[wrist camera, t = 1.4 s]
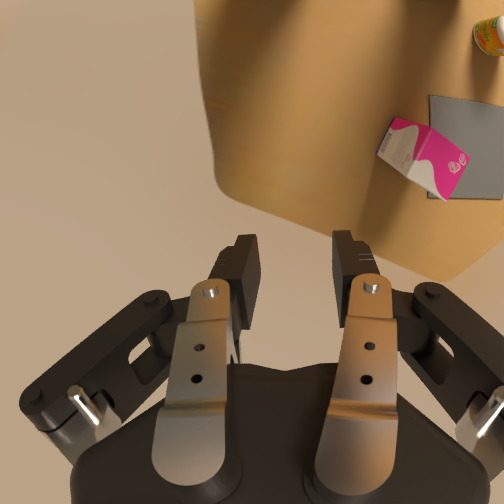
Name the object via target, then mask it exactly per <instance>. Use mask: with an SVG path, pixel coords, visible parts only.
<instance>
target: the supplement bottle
mask: <svg viewBox="0 0 504 504" xmlns="http://www.w3.org/2000/svg"><path fill="white" fill-rule="evenodd" d="M473 34H474V38H475V41H476V43H477V45H478V46H479V48H480V49H481V50H482V51H483V52H484V53H486V54H488V55H490V56H504V15H503V16H499V17H495V18H491V19H487V20H483V21H480V22H477V23H476V24H475V26H474V29H473Z"/></svg>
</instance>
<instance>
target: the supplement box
mask: <svg viewBox="0 0 504 504" xmlns="http://www.w3.org/2000/svg"><path fill="white" fill-rule="evenodd" d="M376 154H377V155H378V156H379V157H380V158H382V159H383V160H384V161H386V162H387V163H388V164H390V165H391V166H392V167H393V168H395V169H396V170H397V171H399V172H400V173H401V174H402V175H404V176H405V177H406V178H407V179H409V180H411V181H412V182H414V183H416V184H417V185H419V186H421V187H422V188H424V189H425V190H427V191H429V192H430V193H432V194H434V195H435V196H437V197H438V198H440V199H442V200H443V201H445V202H447V201H448V199H449V197H450V196H451V194H452V192H453V190H454V188H455V187H456V185H457V183H458V181H459V179H460V177H461V175H462V173H463V171H464V169H465V168H466V166H467V164H468V162H469V160H470V157H469V156H468V155H467V154H466V153H465V152H463V151H462V150H461V149H460V148H458V147H457V146H456V145H455V144H453V143H452V142H451V141H450V140H448V139H447V138H446V137H444V136H443V135H442V134H440V133H439V132H438V131H436V130H435V129H434V128H432V127H429V126H425V125H422V124H418V123H415V122H411V121H408V120H404V119H400V118H396V117H394V118H393V120H392V122H391V124H390V126H389V128H388V130H387V132H386V134H385V136H384V138H383V140H382V142H381V144H380V146H379V148H378V150H377V152H376Z"/></svg>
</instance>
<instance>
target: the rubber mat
mask: <svg viewBox="0 0 504 504" xmlns="http://www.w3.org/2000/svg"><path fill="white" fill-rule="evenodd" d="M429 104H430V127H432V128H434V129H435V130H436V131H438V132H439V133H440V134H442V135H443V136H444V137H446V138H447V139H448V140H450V141H451V142H452V143H453V144H455V145H456V146H457V147H458V148H460V149H461V150H462V151H463V152H465V153H466V154H467V155H468V156H469V157H470V160H469V162H468V164H467V166H466V168H465V169H464V171H463V173H462V175H461V177H460V179H459V181H458V183H457V185H456V187H455V188H454V190H453V192H452V194H451V196H450V197H449V198H487V199H503V193H504V107H501V106H496V105H492V104H486V103H481V102H475V101H469V100H463V99H456V98H449V97H441V96H432V95H429ZM428 197H432V198H438V197H437V196H435V195H434V194H432V193H430V192H429V191H428Z"/></svg>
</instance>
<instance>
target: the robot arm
mask: <svg viewBox="0 0 504 504" xmlns="http://www.w3.org/2000/svg"><path fill="white" fill-rule="evenodd" d="M332 241H333V242H332V270H333V279H334V287H335V294H336V301H337V309H338V317H339V323H340V324H339V325H340V328H344V333H343V340H342V345H341V351H340V356H339V362H338V363H323V364H322V363H320V364H316V365H312V366H307V367H302V368H298V369H293V370H288V371H282V370H277V369H271V368H267V367H263V366H258V365H253V364H242V359H241V342H240V333H241V330H242V329H243V330H244V329H245V330H249V329H250V326H251V322H252V317H253V312H254V308H255V303H256V298H257V293H258V288H259V284H260V278H261V268H260V259H259V251H258V243H257V237H256V234H247V235H238V237H237V240H236V242H235V245H234V246H227V247H226V248H225V249H223V250H222V251H221V252H220V253H219V256H218V258H217V260H216V262H215V265H214V266H213V269H212V271H211V273H210V275H209V277H208V279H207V280H204V281H202V282H199V283H198V284H196V285H195V286H194V287H193V289H192V290H191V295H190V296H189V297H185V298H180V299H175V300H171V299H170V296H169V294H168V293H167V292H166V291H164V290H152V291H148V292H146V293H143V294H142V295H140V296H139V297H138V298H136V299H135V300H134V301H132V302H131V303H130V304H129V305H127V306H126V307H125V308H123V309H122V310H121V311H120V312H118V313H117V314H116V315H115V316H113V317H112V318H111V319H110V320H108V321H107V322H106V323H105V324H103V325H102V326H101V327H99V328H98V329H97V330H96V331H94V332H93V333H92V334H91V335H89V336H88V337H87V338H86V339H85V340H83V342H81V343H80V344H79V345H77V346H76V347H75V348H74V349H72V350H71V351H70V352H69V353H67V354H66V355H65V356H64V357H62V358H61V359H60V360H59V361H58V362H56V363H55V364H54V365H53V366H52V367H51V368H49V369H48V370H47V371H46V372H44V373H43V374H42V375H41V376H40V377H39V378H37V379H36V380H35V381H34V382H33V383H32V384H30V385H29V386H28V387H27V388H26V389H25V390H24V391H23V393H22V394H21V397H20V400H19V407H20V409H21V411H22V412H23V413H24V414H25V416H26V417H27V418H28V419H29V420H30V421H31V422H32V423H33V424H34V425H35V427H36V428H37V429H38V430H39V431H40V432H41V433H42V434H43V435H44V436H45V437H46V438H47V439H48V440H49V441H50V442H51V443H52V444H53V445H54V446H56V447H57V448H58V449H59V450H60V451H61V453H62V454H63V455H64V456H65V457H66V458H67V459H68V461H69V462H70V463H71V464H72V465H73V469H72V472H71V476H70V491H71V504H488V503H489V498H490V482H491V481H492V480H493V479H494V478H495V477H496V476H497V475H498V474H499V473H500V472H501V471H502V470H504V337H503V336H502V335H501V334H500V333H499V332H498V331H497V330H496V329H494V327H492V326H491V325H490V324H489V323H488V322H487V321H486V320H484V319H483V318H482V317H481V316H480V315H479V314H477V313H476V312H475V311H474V310H473V309H472V308H470V307H469V306H468V305H467V304H466V303H464V302H463V301H462V300H461V299H459V298H458V297H457V296H456V295H455V294H453V293H452V292H451V291H450V290H449V289H447V288H446V287H444V286H443V285H441V284H438V283H434V282H424V283H420V284H419V285H417V286H416V287H415V289H414V293H408V292H402V291H398V290H395V289H392V288H391V283H390V281H389V280H388V279H387V278H385V277H383V276H381V275H380V272H379V270H378V267H377V265H376V262H375V260H374V257H373V254H372V252H371V249H370V247H369V246H368V245H367V244H366V243H364V242H363V241H353V238H352V235H351V232H350V230H338V231H333V233H332ZM146 337H147V339H148V341H149V343H150V345H151V346H150V347H149V348H147V349H146V350H145V351H144V352H143V353H142V354H141V355H140V356H139V357H138V358H137V359H136V360H135V361H133V362H132V363H131V364H129V361H128V357H129V354H130V352H131V351H132V349H134V348H135V347H136V346H137V345H138V344H139V343H140V342H141V341H143V340H144V339H145V338H146ZM439 337H441V338H442V339H443V340H444V341H445V342H446V343H447V344H448V345H449V346H450V347H451V349H452V351H453V353H454V357H453V356H452V355H451V354H450V353H449V352H448V351H447V350H446V349H445V348H444V347H443V346H442V345H441V344H440V343H439V342H438V339H439ZM397 351H400V354H401V356H402V358H403V359H404V360H405V361H406V363H407V364H408V365H409V366H410V367H411V369H412V370H413V371H414V372H415V373H416V375H417V376H418V377H419V378H420V380H421V381H422V382H423V383H424V384H425V386H426V387H427V388H428V389H429V391H430V392H431V393H432V394H433V395H434V397H435V398H436V399H437V401H438V402H439V403H440V404H441V406H442V407H443V408H444V409H445V411H446V412H447V413H448V414H449V416H450V417H451V418H452V419H453V421H454V422H455V423H456V429H455V434H456V438H457V442H456V441H455V440H454V439H453V438H452V437H450V436H449V435H448V434H447V433H445V432H444V431H443V430H442V429H441V428H439V427H438V426H437V425H436V424H435V423H433V422H432V421H431V420H430V419H428V418H427V417H426V416H425V415H424V414H422V413H421V412H420V411H419V410H418V409H416V408H415V407H414V406H413V405H412V404H410V403H409V402H408V401H407V400H406V399H404V398H403V397H402V396H401V395H400V394H398V393H397ZM168 377H169V379H168V385H167V391H166V397H165V398H163V399H162V400H161V401H159V402H158V403H156V404H155V405H153V406H152V407H151V408H149V409H148V410H146V411H145V412H143V413H142V414H140V415H139V416H137V417H136V418H134V419H133V420H131V421H130V422H128V423H127V424H125V425H124V426H122V427H121V425H122V424H123V423H124V421H126V420H127V419H128V418H129V417H130V415H132V414H133V412H134V411H136V409H138V407H139V406H140V405H141V404H142V403H143V402H144V401H145V400H146V399H147V398H148V397H149V396H150V395H151V394H152V393H153V392H154V391H155V390H156V389H157V388H158V387H159V386H160V385H161V384H162V383H163V382H164V381H165V380H166V379H167V378H168Z"/></svg>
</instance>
